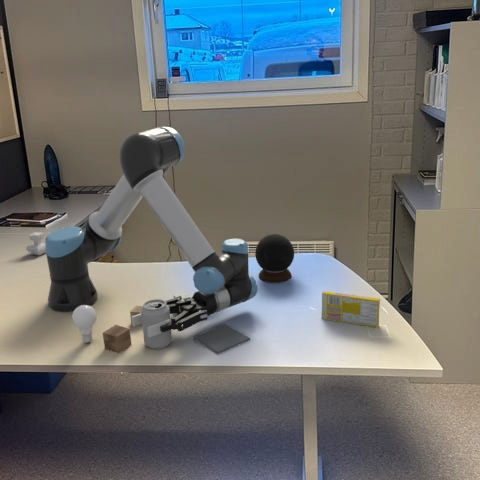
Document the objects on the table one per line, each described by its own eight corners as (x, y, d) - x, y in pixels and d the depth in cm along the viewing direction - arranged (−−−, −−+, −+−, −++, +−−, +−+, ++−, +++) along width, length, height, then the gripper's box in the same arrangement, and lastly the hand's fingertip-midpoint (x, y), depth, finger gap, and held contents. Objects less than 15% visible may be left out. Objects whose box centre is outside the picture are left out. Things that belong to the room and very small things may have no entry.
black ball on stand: (302, 276, 191) (302, 235, 186) (272, 287, 184) (272, 244, 179) (277, 266, 201) (276, 226, 196) (248, 275, 194) (246, 234, 189)
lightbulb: (78, 337, 157) (73, 301, 153) (101, 335, 157) (96, 300, 154) (74, 348, 151) (68, 312, 147) (98, 347, 151) (92, 310, 148)
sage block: (174, 309, 171) (173, 294, 170) (187, 306, 173) (186, 292, 171) (178, 314, 168) (177, 299, 166) (191, 312, 169) (190, 297, 168)
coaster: (193, 338, 154) (193, 336, 154) (225, 325, 160) (225, 323, 160) (217, 354, 146) (217, 352, 146) (250, 339, 152) (250, 337, 152)
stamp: (41, 249, 229) (38, 229, 226) (53, 251, 226) (50, 231, 223) (24, 256, 221) (21, 236, 218) (37, 258, 218) (33, 238, 215)
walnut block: (104, 349, 151) (102, 332, 149) (117, 340, 155) (115, 324, 153) (118, 353, 148) (116, 336, 146) (131, 345, 152) (129, 328, 150)
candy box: (379, 325, 158) (380, 298, 155) (377, 328, 156) (379, 301, 153) (323, 316, 164) (323, 290, 161) (321, 319, 162) (321, 293, 159)
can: (167, 351, 148) (163, 310, 144) (140, 349, 149) (136, 308, 145) (175, 337, 155) (172, 298, 151) (150, 335, 156) (146, 296, 152)
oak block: (131, 323, 164) (129, 311, 162) (137, 317, 167) (136, 305, 166) (143, 325, 163) (142, 312, 161) (149, 319, 166) (148, 306, 165)
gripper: (233, 324, 154) (162, 354, 141) (191, 301, 169) (123, 326, 156) (231, 299, 152) (159, 327, 138) (189, 278, 167) (120, 301, 153)
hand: (140, 326), depth 147 cm, fingers closed on can, 7 cm apart
